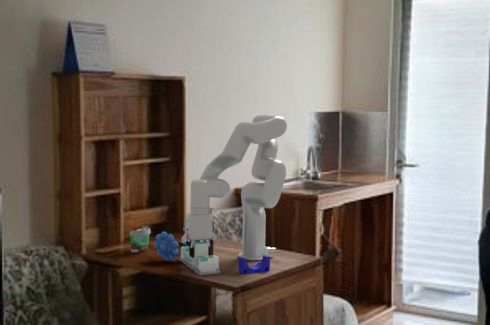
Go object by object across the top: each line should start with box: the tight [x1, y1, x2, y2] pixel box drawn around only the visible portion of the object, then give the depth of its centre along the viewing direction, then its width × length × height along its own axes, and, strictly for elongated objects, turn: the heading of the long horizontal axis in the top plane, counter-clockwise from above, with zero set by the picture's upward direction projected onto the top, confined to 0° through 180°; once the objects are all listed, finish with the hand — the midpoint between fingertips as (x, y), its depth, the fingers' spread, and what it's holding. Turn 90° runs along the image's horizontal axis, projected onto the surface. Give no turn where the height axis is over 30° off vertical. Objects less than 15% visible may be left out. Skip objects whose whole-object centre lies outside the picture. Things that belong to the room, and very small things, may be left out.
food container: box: [129, 225, 152, 254], centre depth 307 cm, size 12×6×10 cm, turn 161°
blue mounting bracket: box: [238, 254, 271, 275], centre depth 278 cm, size 12×4×6 cm, turn 117°
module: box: [190, 240, 208, 262], centre depth 282 cm, size 5×7×8 cm
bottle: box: [200, 211, 215, 256], centre depth 299 cm, size 7×7×20 cm
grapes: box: [153, 231, 180, 262], centre depth 291 cm, size 12×7×12 cm, turn 64°
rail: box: [179, 245, 220, 276], centre depth 283 cm, size 8×24×6 cm, turn 23°
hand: (199, 256), depth 283 cm, fingers closed on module, 5 cm apart
